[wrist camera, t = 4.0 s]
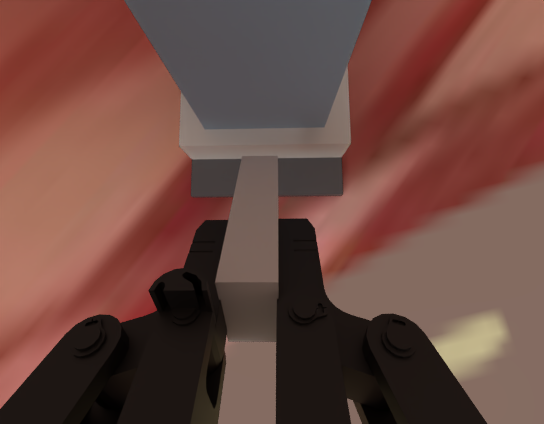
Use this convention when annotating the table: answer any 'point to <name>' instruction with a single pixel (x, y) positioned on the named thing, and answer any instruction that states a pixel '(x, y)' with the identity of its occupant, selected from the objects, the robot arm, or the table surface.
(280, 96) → the block
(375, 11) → the table surface
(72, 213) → the table surface
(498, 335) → the table surface
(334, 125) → the trap deck
